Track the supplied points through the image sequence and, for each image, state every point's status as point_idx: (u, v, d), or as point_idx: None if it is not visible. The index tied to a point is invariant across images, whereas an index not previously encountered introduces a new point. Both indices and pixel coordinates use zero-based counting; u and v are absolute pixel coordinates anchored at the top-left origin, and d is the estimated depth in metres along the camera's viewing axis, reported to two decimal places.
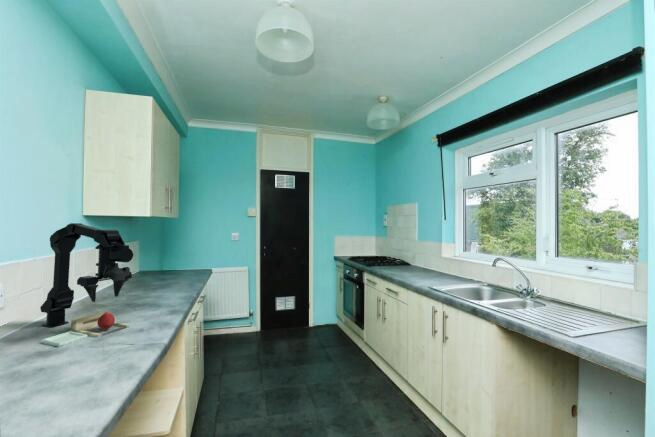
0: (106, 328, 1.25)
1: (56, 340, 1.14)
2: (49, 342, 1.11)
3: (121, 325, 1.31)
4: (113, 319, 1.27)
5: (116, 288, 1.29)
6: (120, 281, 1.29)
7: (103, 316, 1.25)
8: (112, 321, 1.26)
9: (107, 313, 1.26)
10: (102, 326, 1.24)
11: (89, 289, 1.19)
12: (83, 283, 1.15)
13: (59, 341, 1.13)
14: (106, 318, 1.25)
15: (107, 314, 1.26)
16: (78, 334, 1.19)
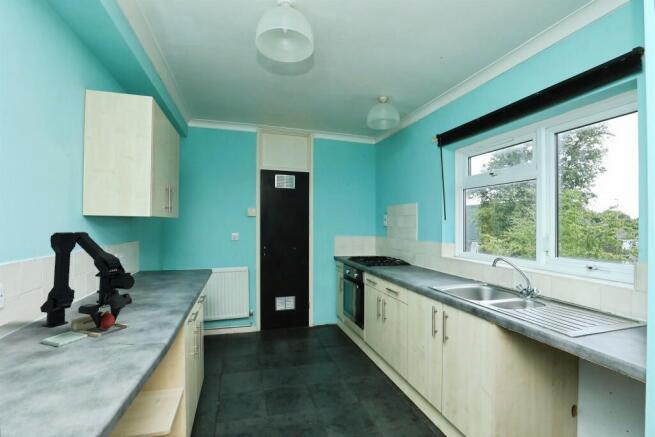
0: (106, 328, 1.25)
1: (56, 340, 1.14)
2: (49, 342, 1.11)
3: (121, 325, 1.31)
4: (113, 319, 1.27)
5: (113, 314, 1.30)
6: (117, 308, 1.30)
7: (103, 316, 1.25)
8: (112, 321, 1.26)
9: (107, 313, 1.26)
10: (102, 326, 1.24)
11: (94, 316, 1.23)
12: (84, 312, 1.18)
13: (59, 341, 1.13)
14: (106, 318, 1.25)
15: (107, 314, 1.26)
16: (78, 334, 1.19)
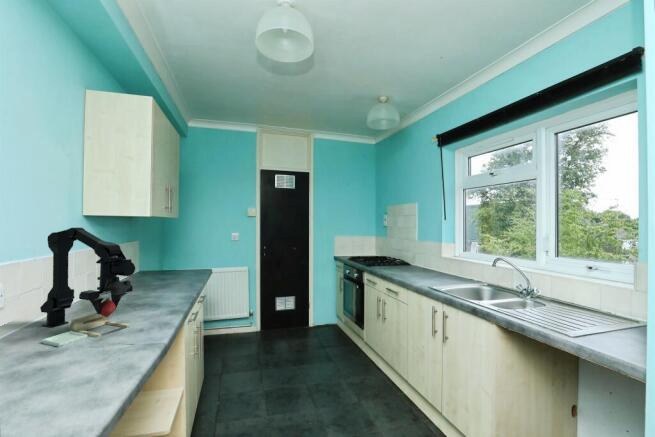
0: (107, 315, 1.26)
1: (56, 340, 1.14)
2: (49, 342, 1.11)
3: (121, 325, 1.31)
4: (114, 306, 1.27)
5: (114, 301, 1.30)
6: (118, 295, 1.30)
7: (104, 303, 1.25)
8: (113, 308, 1.26)
9: (108, 300, 1.26)
10: (103, 313, 1.24)
11: (95, 302, 1.23)
12: (85, 298, 1.18)
13: (59, 341, 1.13)
14: (107, 305, 1.25)
15: (108, 301, 1.26)
16: (78, 334, 1.19)
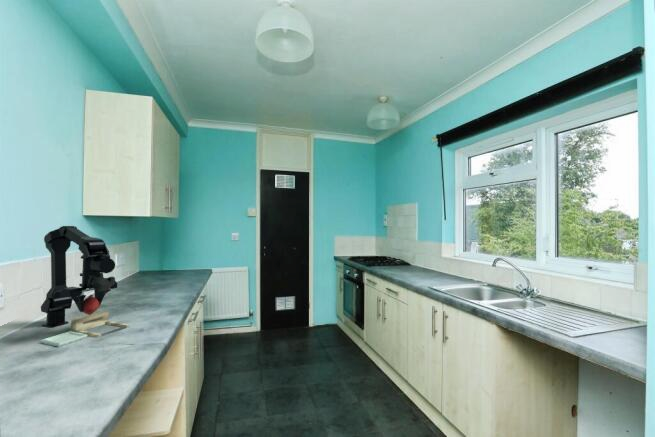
0: (90, 312, 1.21)
1: (56, 340, 1.14)
2: (49, 342, 1.11)
3: (121, 325, 1.31)
4: (97, 303, 1.22)
5: (98, 299, 1.25)
6: (102, 292, 1.25)
7: (87, 300, 1.20)
8: (96, 305, 1.22)
9: (91, 297, 1.22)
10: (86, 310, 1.19)
11: (77, 299, 1.18)
12: (66, 294, 1.13)
13: (59, 341, 1.13)
14: (90, 302, 1.20)
15: (91, 298, 1.21)
16: (78, 334, 1.19)
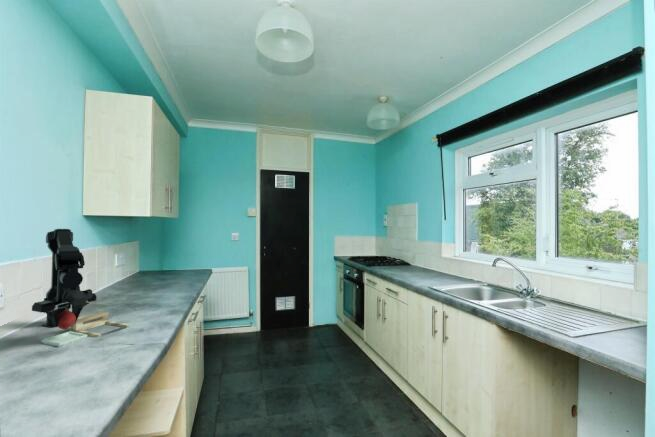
0: (65, 327, 1.14)
1: (56, 340, 1.14)
2: (49, 342, 1.11)
3: (121, 325, 1.31)
4: (73, 318, 1.16)
5: (75, 312, 1.19)
6: (79, 305, 1.19)
7: (62, 314, 1.14)
8: (72, 320, 1.15)
9: (67, 311, 1.15)
10: (60, 325, 1.13)
11: (51, 314, 1.12)
12: (38, 309, 1.06)
13: (59, 341, 1.13)
14: (65, 316, 1.14)
15: (67, 312, 1.15)
16: (78, 334, 1.19)
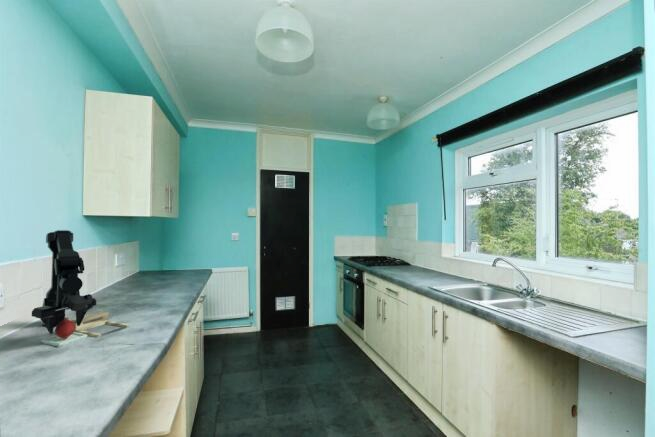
0: (65, 337, 1.14)
1: (56, 340, 1.14)
2: (49, 342, 1.11)
3: (121, 325, 1.31)
4: (73, 327, 1.15)
5: (79, 316, 1.20)
6: (83, 309, 1.20)
7: (61, 324, 1.13)
8: (72, 329, 1.15)
9: (66, 320, 1.15)
10: (60, 335, 1.13)
11: (46, 320, 1.10)
12: (38, 315, 1.06)
13: (59, 341, 1.13)
14: (65, 326, 1.13)
15: (66, 322, 1.14)
16: (78, 334, 1.19)
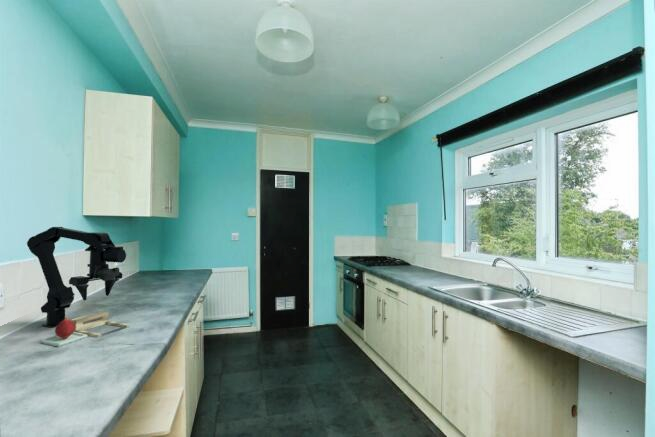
0: (65, 336, 1.14)
1: (56, 340, 1.14)
2: (49, 342, 1.11)
3: (121, 325, 1.31)
4: (73, 326, 1.16)
5: (107, 287, 1.36)
6: (111, 281, 1.36)
7: (61, 323, 1.14)
8: (72, 329, 1.15)
9: (66, 320, 1.15)
10: (60, 334, 1.13)
11: (80, 288, 1.26)
12: (74, 283, 1.23)
13: (59, 341, 1.13)
14: (65, 325, 1.14)
15: (66, 321, 1.15)
16: (78, 334, 1.19)
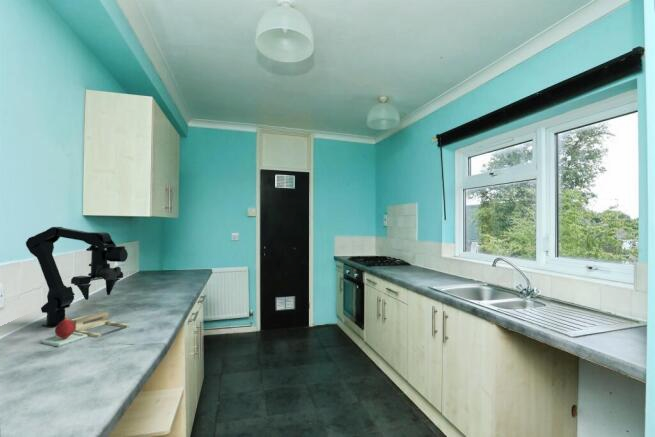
0: (65, 336, 1.14)
1: (56, 340, 1.14)
2: (49, 342, 1.11)
3: (121, 325, 1.31)
4: (73, 326, 1.16)
5: (108, 287, 1.37)
6: (112, 280, 1.37)
7: (61, 323, 1.14)
8: (72, 329, 1.15)
9: (66, 320, 1.15)
10: (60, 334, 1.13)
11: (82, 288, 1.27)
12: (77, 282, 1.23)
13: (59, 341, 1.13)
14: (65, 325, 1.14)
15: (66, 321, 1.15)
16: (78, 334, 1.19)
